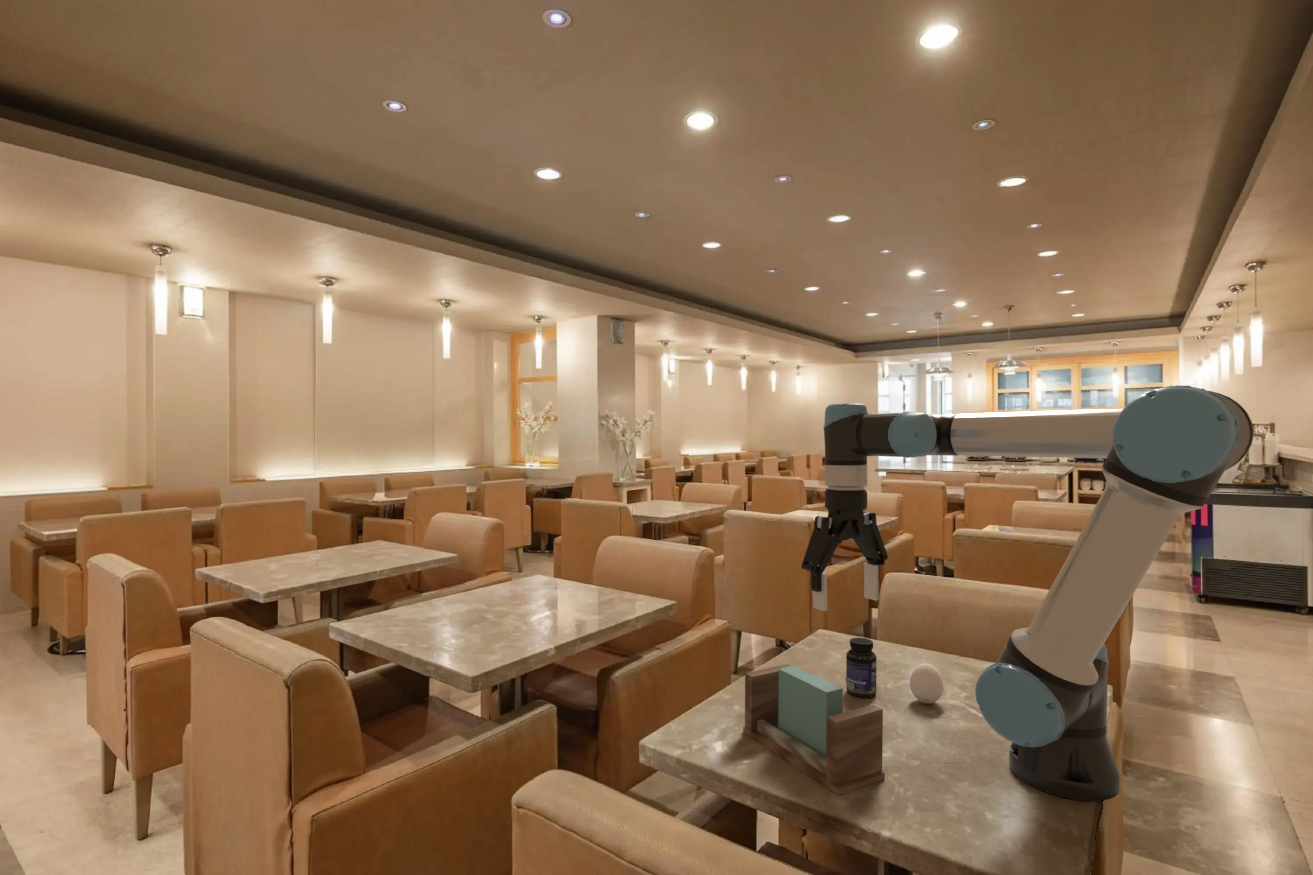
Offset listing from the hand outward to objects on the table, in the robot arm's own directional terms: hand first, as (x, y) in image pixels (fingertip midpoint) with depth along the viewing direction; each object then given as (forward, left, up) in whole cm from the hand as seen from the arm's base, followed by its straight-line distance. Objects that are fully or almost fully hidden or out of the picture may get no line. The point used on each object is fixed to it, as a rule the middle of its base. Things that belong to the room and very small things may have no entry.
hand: (846, 604), depth 122 cm
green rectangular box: (-3, +12, -23) cm, 26 cm away
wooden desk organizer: (-3, +12, -24) cm, 26 cm away
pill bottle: (+12, -16, -24) cm, 31 cm away
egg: (+2, -24, -24) cm, 34 cm away
